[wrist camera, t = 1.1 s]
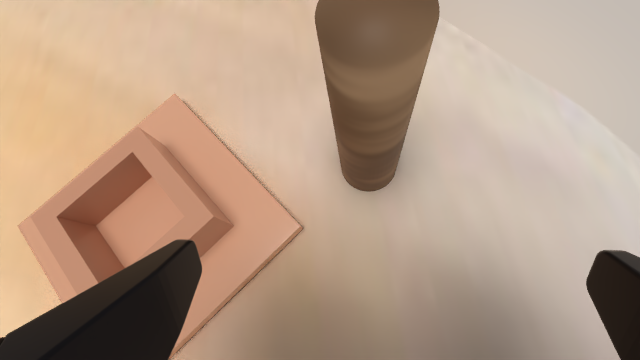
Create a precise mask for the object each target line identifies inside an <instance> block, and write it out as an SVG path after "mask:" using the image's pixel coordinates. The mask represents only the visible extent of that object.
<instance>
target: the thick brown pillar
mask: <svg viewBox="0 0 640 360" xmlns="http://www.w3.org/2000/svg"><path fill="white" fill-rule="evenodd" d="M438 20H439V3H438V0H319V2H318V4H317V7H316V12H315V24H316V30H317V35H318V41H319V46H320V52H321V57H322V63H323V69H324V74H325V80H326V85H327V91H328V96H329V102H330V107H331V113H332V118H333V124H334V129H335V135H336V141H337V146H338V152H339V157H340V163H341V168H342V173H343V176H344V178H345V179H346V181H347V182H348V183H349V184H350V185H351V186H353V187H354V188H356V189H359V190H362V191H375V190H379V189H381V188H383V187H385V186H386V185H387V184H388V183H389V182H390V181H391V180H392V178H393V176H394V174H395V171H396V167H397V164H398V160H399V157H400V153H401V150H402V146H403V143H404V139H405V136H406V132H407V129H408V125H409V122H410V118H411V115H412V111H413V108H414V104H415V101H416V97H417V94H418V90H419V87H420V83H421V80H422V76H423V73H424V69H425V66H426V62H427V59H428V55H429V52H430V48H431V45H432V41H433V38H434V34H435V31H436V27H437V23H438Z"/></svg>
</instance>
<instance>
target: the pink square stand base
mask: <svg viewBox="0 0 640 360" xmlns="http://www.w3.org/2000/svg"><path fill="white" fill-rule="evenodd" d="M18 227H19V229H20V231H21V233H22V234H23V236H24V238H25V240H26V241H27V243H28V245H29V246H30V248H31V250H32V252H33V253H34V255H35V257H36V259H37V260H38V262H39V264H40V265H41V267H42V269H43V271H44V272H45V274H46V276H47V278H48V279H49V281H50V283H51V284H52V286H53V288H54V290H55V291H56V293H57V295H58V297H59V298H60V300H61V302H62V303H64V302H66V301H67V300H69V299H71V298H73V297H75V296H76V295H78V294H80V293H82V292H83V291H85V290H87V289H89V288H91V287H92V286H94V285H96V284H98V283H99V282H101V281H103V280H105V279H107V278H108V277H110V276H112V275H114V274H116V273H117V272H119V271H121V270H123V269H124V268H126V267H128V266H130V265H132V264H133V263H135V262H137V261H139V260H140V259H142V258H144V257H146V256H148V255H149V254H151V253H153V252H155V251H156V250H158V249H160V248H162V247H164V246H165V245H167V244H169V243H171V242H172V241H174V240H177V239H187V240H193V241H194V242H195V244H196V247H197V250H198V253H199V257H200V260H201V264H202V274H201V278H200V280H199V283H198V286H197V289H196V292H195V294H194V297H193V300H192V303H191V306H190V308H189V311H188V314H187V317H186V320H185V323H184V325H183V328H182V330H181V333H180V335H179V337H178V340H177V342H176V344H175V346H174V348H173V350H172V353H171V355H170V357H169V359H170V358H171V357H172V356H173V355H174V354H175V353H176V352H177V351H178V350H179V349H180V348H181V347H182V346H183V345H184V344H185V343H186V342H187V341H188V340H189V339H190V338H191V337H192V336H193V335H194V334H196V333H197V332H198V331H199V330H200V329H201V328H202V327H203V326H204V325H205V324H206V323H207V322H208V321H209V320H210V319H211V318H212V317H213V316H214V315H215V314H216V313H217V312H218V311H219V310H220V309H221V308H222V307H223V306H224V305H225V304H226V303H227V302H228V301H229V300H230V299H231V298H233V297H234V296H235V295H236V294H237V293H238V292H239V291H240V290H241V289H242V288H243V287H244V286H245V285H246V284H247V283H248V282H249V281H250V280H251V279H252V278H253V277H254V276H255V275H256V274H257V273H258V272H259V271H260V270H261V269H262V268H263V267H264V266H265V265H266V264H267V263H268V262H270V261H271V260H272V259H273V258H274V257H275V256H276V255H277V254H278V253H279V252H280V251H281V250H282V249H283V248H284V247H285V246H286V245H287V244H288V243H289V242H290V241H291V240H292V239H293V238H294V237H295V236H296V235H297V234H298V233H299V232H300V231H301V230H302V229H303V228H302V227H301V226H300V225H299V224H298V223H297V221H296V220H295V219H294V218H293V217H292V216H291V215H290V214H289V213H288V212H287V211H286V210H285V209H284V208H283V207H282V206H281V205H280V204H279V202H278V201H277V200H276V199H275V198H274V197H273V196H272V195H271V194H270V193H269V192H268V191H267V190H266V189H265V188H264V187H263V186H262V185H261V184H260V182H259V181H258V180H257V179H256V178H255V177H254V176H253V175H252V174H251V173H250V172H249V171H248V170H247V169H246V168H245V167H244V166H243V165H242V164H241V162H240V161H239V160H238V159H237V158H236V157H235V156H234V155H233V154H232V153H231V152H230V151H229V150H228V149H227V148H226V147H225V146H224V145H223V144H222V142H221V141H220V140H219V139H218V138H217V137H216V136H215V135H214V134H213V133H212V132H211V131H210V130H209V129H208V128H207V127H206V126H205V125H204V124H203V122H202V121H201V120H200V119H199V118H198V117H197V116H196V115H195V114H194V113H193V112H192V111H191V110H190V109H189V108H188V107H187V106H186V105H185V103H184V102H183V101H182V100H181V99H180V98H179V97H178V96H177V95H176V94H173V95H172V96H171V97H170V98H169V99H167V100H166V101H165V102H164V103H163V104H161V105H160V106H159V107H158V108H157V109H156V110H154V111H153V112H152V113H151V114H150V115H148V116H147V117H146V118H145V119H144V120H142V121H141V122H140V123H139V124H138V125H137V126H135V127H134V128H133V129H132V130H131V131H129V132H128V133H127V134H126V135H125V136H123V137H122V138H121V139H120V140H119V141H118V142H116V143H115V144H114V145H113V146H112V147H110V148H109V149H108V150H107V151H106V152H105V153H103V154H102V155H101V156H100V157H99V158H97V159H96V160H95V161H94V162H93V163H91V164H90V165H89V166H88V167H87V168H86V169H84V170H83V171H82V172H81V173H80V174H78V175H77V176H76V177H75V178H74V179H72V180H71V181H70V182H69V183H68V184H67V185H65V186H64V187H63V188H62V189H61V190H59V191H58V192H57V193H56V194H55V195H53V196H52V197H51V198H50V199H49V200H48V201H46V202H45V203H44V204H43V205H42V206H40V207H39V208H38V209H37V210H36V211H34V212H33V213H32V214H31V215H30V216H29V217H27V218H26V219H25V220H24V221H23V222H21V223H20V224H19V225H18ZM169 359H168V360H169Z"/></svg>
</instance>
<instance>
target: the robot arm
mask: <svg viewBox="0 0 640 360" xmlns="http://www.w3.org/2000/svg"><path fill="white" fill-rule="evenodd" d="M201 274H202V264H201V260H200V257H199V253H198V250H197V247H196V244H195V242H194V241H193V240H187V239H177V240H174V241H172V242H171V243H169V244H167V245H165V246H164V247H162V248H160V249H158V250H156V251H155V252H153V253H151V254H149V255H148V256H146V257H144V258H142V259H140V260H139V261H137V262H135V263H133V264H132V265H130V266H128V267H126V268H124V269H123V270H121V271H119V272H117V273H116V274H114V275H112V276H110V277H108V278H107V279H105V280H103V281H101V282H99V283H98V284H96V285H94V286H92V287H91V288H89V289H87V290H85V291H83V292H82V293H80V294H78V295H76V296H75V297H73V298H71V299H69V300H67V301H66V302H64V303H62V304H60V305H59V306H57V307H55V308H53V309H51V310H50V311H48V312H46V313H44V314H42V315H41V316H39V317H37V318H35V319H34V320H32V321H30V322H28V323H26V324H25V325H23V326H21V327H19V328H18V329H16V330H14V331H12V332H10V333H9V334H7V335H6V337H2V338H0V360H168V359H169V357H170V355H171V353H172V350H173V348H174V346H175V344H176V342H177V340H178V337H179V335H180V333H181V330H182V328H183V325H184V323H185V320H186V317H187V314H188V311H189V308H190V306H191V303H192V300H193V297H194V294H195V292H196V289H197V286H198V283H199V280H200V278H201ZM586 285H587V290H588V293H589V295H590V297H591V299H592V301H593V303H594V305H595V307H596V309H597V311H598V314H599V316H600V318H601V320H602V322H603V324H604V326H605V328H606V330H607V332H608V334H609V337H610V339H611V341H612V343H613V345H614V347H615V349H616V351H617V353H618V355H619V357H620V359H621V360H640V258H639V257H637V256H635V255H633V254H631V253H629V252H626V251H620V250H603V251H600V252H599V253H598V254H597V256H596V258H595V260H594V263H593V265H592V267H591V270H590V272H589V275H588V277H587V281H586Z"/></svg>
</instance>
